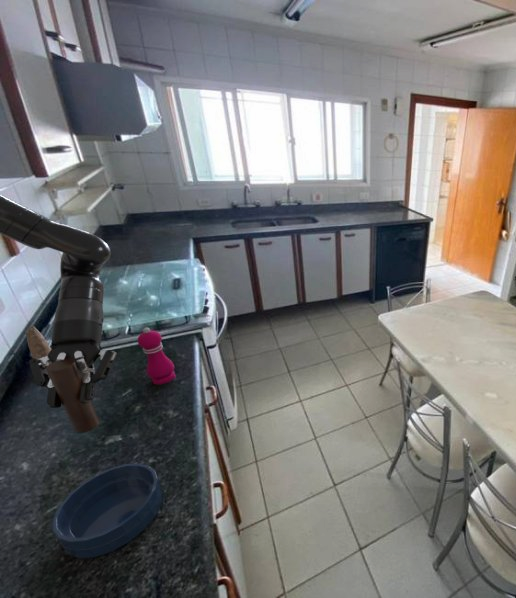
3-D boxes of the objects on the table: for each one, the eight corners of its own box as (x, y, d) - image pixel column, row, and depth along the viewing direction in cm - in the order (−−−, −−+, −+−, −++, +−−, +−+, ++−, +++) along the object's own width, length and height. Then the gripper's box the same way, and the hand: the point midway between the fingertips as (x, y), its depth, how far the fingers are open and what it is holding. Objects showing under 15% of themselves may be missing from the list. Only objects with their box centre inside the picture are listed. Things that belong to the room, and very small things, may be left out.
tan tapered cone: (72, 369, 111) (49, 373, 109) (51, 320, 105) (27, 323, 103) (60, 379, 105) (36, 383, 103) (37, 327, 99) (12, 331, 98)
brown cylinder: (71, 435, 68) (41, 373, 61) (78, 421, 71) (51, 361, 64) (96, 430, 69) (69, 368, 63) (102, 416, 73) (77, 357, 66)
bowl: (48, 575, 60) (35, 556, 57) (81, 496, 73) (72, 477, 70) (155, 538, 66) (148, 520, 64) (168, 472, 79) (162, 454, 77)
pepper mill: (146, 383, 107) (125, 331, 98) (167, 370, 113) (149, 320, 104) (161, 389, 104) (141, 336, 96) (182, 376, 110) (165, 324, 102)
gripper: (22, 321, 65) (8, 411, 60) (111, 314, 70) (105, 397, 64) (47, 331, 71) (36, 413, 66) (127, 324, 76) (122, 399, 71)
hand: (70, 404), depth 65 cm, fingers closed on brown cylinder, 4 cm apart
